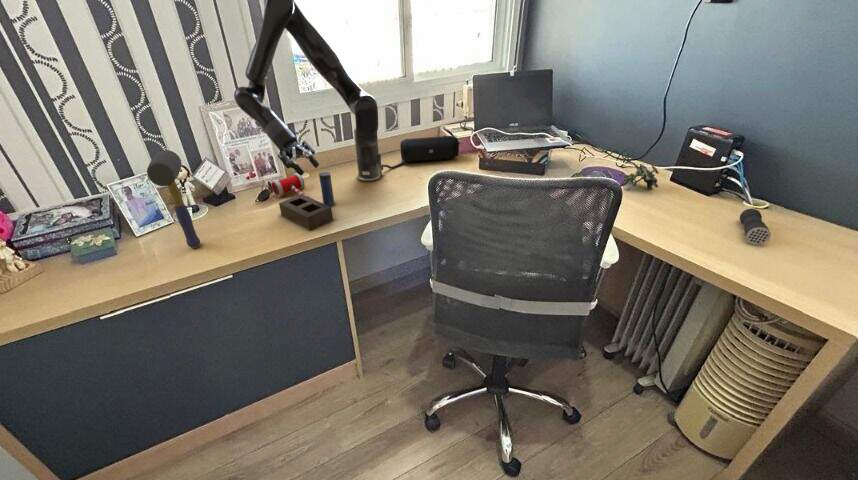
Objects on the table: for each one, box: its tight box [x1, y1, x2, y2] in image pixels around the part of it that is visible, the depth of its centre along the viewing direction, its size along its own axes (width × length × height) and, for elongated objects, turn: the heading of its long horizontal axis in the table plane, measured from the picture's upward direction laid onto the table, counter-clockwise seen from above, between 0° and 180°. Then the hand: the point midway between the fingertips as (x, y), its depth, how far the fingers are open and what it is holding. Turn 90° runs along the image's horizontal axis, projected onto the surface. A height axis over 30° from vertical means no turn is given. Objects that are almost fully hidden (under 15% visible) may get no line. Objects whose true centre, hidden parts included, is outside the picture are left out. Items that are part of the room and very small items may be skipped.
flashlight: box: [739, 208, 772, 246], centre depth 127 cm, size 15×5×5 cm, turn 154°
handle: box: [318, 171, 335, 208], centre depth 153 cm, size 4×4×12 cm
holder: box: [278, 194, 334, 231], centre depth 147 cm, size 10×18×5 cm, turn 46°
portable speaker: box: [399, 135, 460, 163], centre depth 188 cm, size 26×10×10 cm, turn 96°
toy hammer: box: [270, 172, 310, 198], centre depth 160 cm, size 23×12×6 cm, turn 43°
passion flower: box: [619, 163, 659, 190], centre depth 155 cm, size 11×11×12 cm
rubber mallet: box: [146, 149, 201, 249], centre depth 126 cm, size 12×8×30 cm, turn 14°
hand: (310, 170), depth 152 cm, fingers open, 8 cm apart
